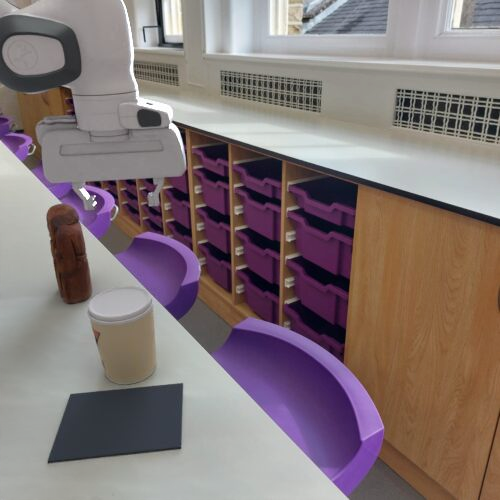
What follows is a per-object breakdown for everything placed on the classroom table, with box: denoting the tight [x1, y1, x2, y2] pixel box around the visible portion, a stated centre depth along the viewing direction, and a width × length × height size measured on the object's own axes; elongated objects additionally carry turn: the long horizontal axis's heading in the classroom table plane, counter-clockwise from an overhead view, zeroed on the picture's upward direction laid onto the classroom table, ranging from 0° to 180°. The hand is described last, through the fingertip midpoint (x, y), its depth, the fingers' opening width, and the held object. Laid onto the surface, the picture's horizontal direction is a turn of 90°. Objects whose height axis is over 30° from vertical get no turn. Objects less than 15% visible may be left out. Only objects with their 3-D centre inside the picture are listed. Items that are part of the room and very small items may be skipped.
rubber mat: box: [47, 382, 184, 464], centre depth 65 cm, size 16×12×1 cm
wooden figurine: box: [45, 202, 93, 304], centre depth 94 cm, size 12×6×18 cm, turn 25°
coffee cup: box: [86, 285, 157, 385], centre depth 72 cm, size 9×9×12 cm
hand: (122, 207), depth 74 cm, fingers open, 8 cm apart
